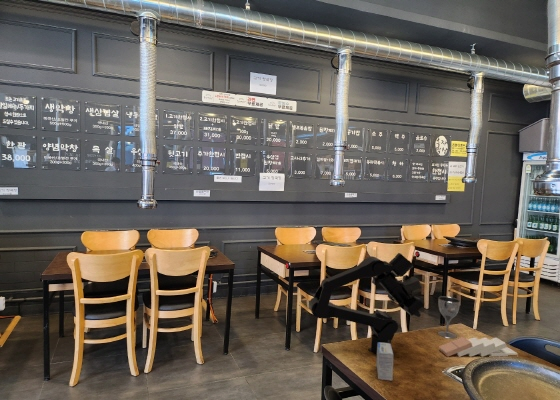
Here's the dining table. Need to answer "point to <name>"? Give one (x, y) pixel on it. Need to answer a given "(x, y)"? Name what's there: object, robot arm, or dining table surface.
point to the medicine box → (384, 361)
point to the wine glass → (448, 313)
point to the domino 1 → (455, 346)
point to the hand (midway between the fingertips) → (419, 316)
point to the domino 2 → (476, 345)
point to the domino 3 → (487, 346)
